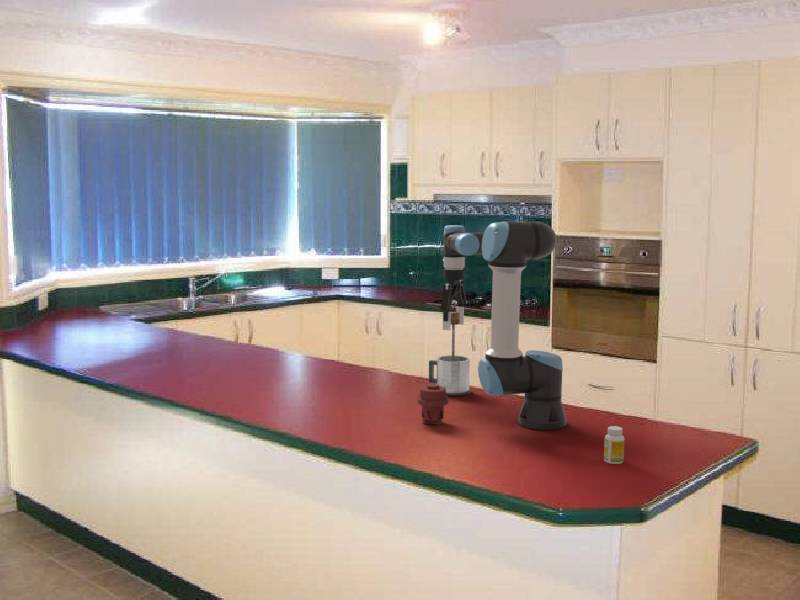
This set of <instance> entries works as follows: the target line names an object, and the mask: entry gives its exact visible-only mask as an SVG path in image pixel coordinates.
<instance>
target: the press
mask: <svg viewBox="0 0 800 600" xmlns="http://www.w3.org/2000/svg"><path fill="white" fill-rule="evenodd" d="M470 360H471V359H470V358H469V357H467V356H463V355H455V356H454V362H452V355H441V356H438V357H437V358H436V360H432V359H431V360H429V361H428V383H429V384H438V385H439V386H442V387H445V388H446V396H447V397H448V398H449V397H454V398H455V397H456V398H457V397H465V396H469V395H471V391H472V390H471V388H470V367H471V366H470V362H471V361H470ZM435 366H436V378H435Z"/></svg>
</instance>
